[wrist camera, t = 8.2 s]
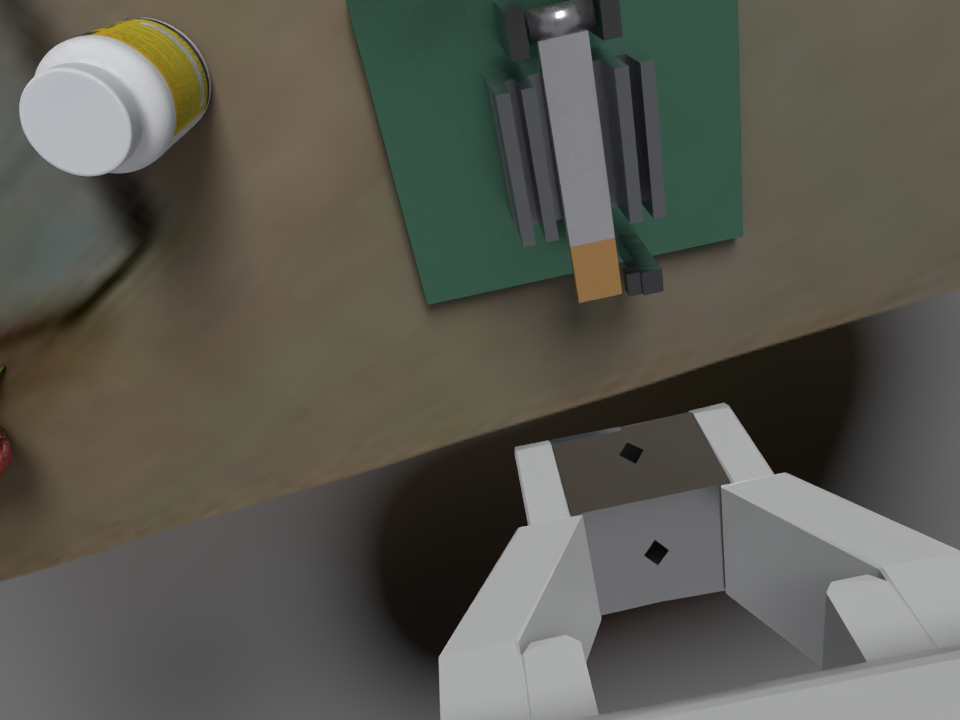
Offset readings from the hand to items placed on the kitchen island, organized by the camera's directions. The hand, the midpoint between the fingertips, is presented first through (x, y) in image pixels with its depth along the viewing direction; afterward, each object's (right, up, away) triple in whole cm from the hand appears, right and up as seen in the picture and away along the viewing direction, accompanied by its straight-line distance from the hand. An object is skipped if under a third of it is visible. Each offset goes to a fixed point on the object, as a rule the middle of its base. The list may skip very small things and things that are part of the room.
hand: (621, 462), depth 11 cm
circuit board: (+2, +14, +28) cm, 32 cm away
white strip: (+3, +11, +25) cm, 28 cm away
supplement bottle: (-18, +15, +26) cm, 35 cm away
